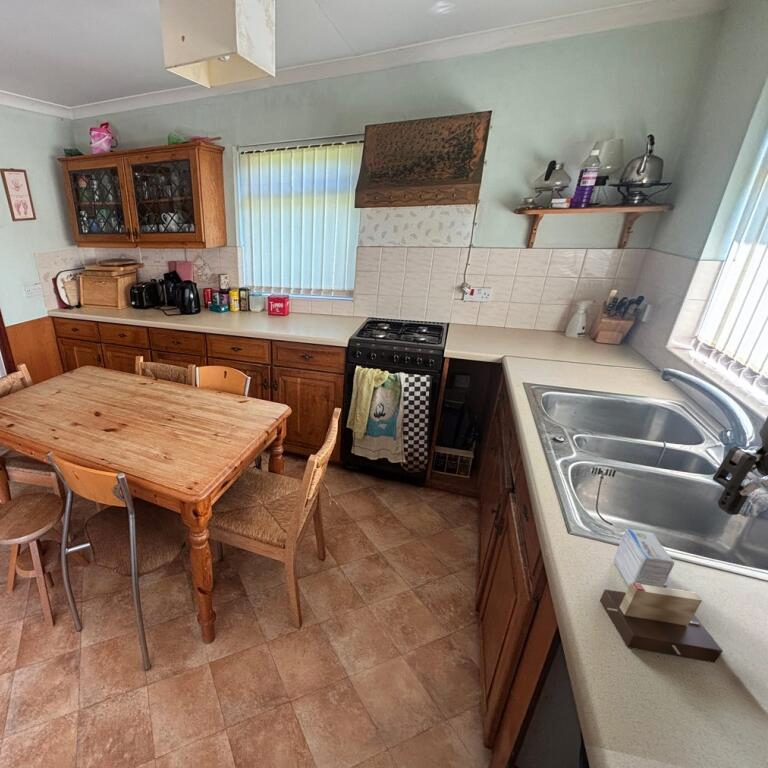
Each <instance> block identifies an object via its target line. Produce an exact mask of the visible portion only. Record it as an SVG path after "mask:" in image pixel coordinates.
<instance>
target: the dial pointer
mask: <svg viewBox="0 0 768 768" xmlns="http://www.w3.org/2000/svg"><path fill="white" fill-rule="evenodd" d="M702 602H703V599H702V598H701V597H700V596H699V595H698V594H697V592H695V591H688V590H682V589H676V588H670V587H664V586H663V587H656V586H649V585H643V584H640V583H631V584H630V586H628V588H627V590H626V595H625V597H624V599H623V601H622V603H621V605H620V609H621V611H622V612H623V614H624V615H625V616H632V617H638V618H644V619H650V620H656V621H662V622H668V623H674V624H680V625H686V626H688V624H689V622H690V621H691V619H692V617H693V615H696V612H697V610H698V608H699V607H700V605H701V603H702Z"/></svg>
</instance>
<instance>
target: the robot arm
mask: <svg viewBox="0 0 768 768" xmlns="http://www.w3.org/2000/svg"><path fill="white" fill-rule="evenodd" d="M758 434H759V437H760V439H761V444H760V445H759V446H758V447H757V448H756V449H754V450H746V449H743V448H741V447H740V446H737V445H736V446H732V447H731V448H730V449H729V450H728V452H727V453H726V455H725V457H724V459H723V460H722V461H721V464H719V467H718V468H717V470H716V472H715V474H714V475H713V477H712V480H713V481H714V482H715V483H717V484H718V485H720V486H722V487H723V488H724V490H723V491H722V494H721V495H720V497H719V498H718V501H717V505H718V508H719V509H720V510H722V511H724V512H725V513H726V514H728V515H730V516H737V515H739V513H740V512H741V510H742V508H743V507H744V504H745V503H746V501H747V499H748V497H749V495H750V494H751V493H753V492H755V491H757V490H758V489H760V488H764V489H765V488H768V415H767V417H766V418H765V420H764V422H763V424H762V425H761V428H760V429H759V431H758ZM755 470H756V471H757V472H758V474H759V475H761V476H762V477H761V476H758V475H756V474H755V473H753V471H755ZM729 474H731V476H730V477H728V476H729ZM744 480H750V481H749V482H747V483H745V484H742V483H743V482H744Z"/></svg>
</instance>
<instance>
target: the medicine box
mask: <svg viewBox="0 0 768 768" xmlns="http://www.w3.org/2000/svg"><path fill="white" fill-rule="evenodd" d="M612 560H613V562H614V564H615V566H616V567H617V569H618V571H619V573H620V574H621V576H622V577H623V579H624V581H625V583H626V585H627V586H628V587H629V586H630V585H629V584H631V583H640V584H643V585H649V586H656V587H663V588H664V586H665V584H666V582H667V580H668V578H669V576H670V574H671V572H672V570H673V568H674V565H675V561H674V560H673V559H672V558H671V556H670V555H669V553H668V552H667V551H666V549H665V548H664V547H663V545H662V544H661V543H660V541H659V539H658V538H657V537H656V536H655V534H654V533H652V532H648V531H644V530H639V529H638V530H637V529H632V528H631V529H629V528H626V529H625V531H624V533H623V535H622V538H621V541H620V543H619V545H618V548H617V550H616V552H615V554H614V557H613V559H612Z"/></svg>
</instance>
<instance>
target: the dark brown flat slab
mask: <svg viewBox="0 0 768 768" xmlns="http://www.w3.org/2000/svg"><path fill="white" fill-rule="evenodd" d="M629 585H630V584H629ZM626 593H627V591H626V592H624V591H618V590H613V589H604V590H603V591H602V595H601V597H600V599H599V602H600V604H601V606H602V607H603V609H604V610H605V612H606V614H607V616H608V618H609V619H610V621H611V622H612V624H613V626H614V628H615V629H616V631H617V633H618V634H619V635H620V637H621V639H622V641H623V642H624V644H625V646H626V647H627V648H628V649H635V650H640V651H646V652H652V653H657V654H662V655H667V656H673V657H680V658H685V659H690V660H696V661H702V662H707V663H713V664H716V662H717V661H718V659H719V658H720V656H721V655H722V653H723V652H724V651H723V649H722V647H720V645H719V644H718V642H717V641H716V640H715V639H714V637H712V635H711V634H710V633H709V631H708V630H707V629H706V628H705V627H704V625H703V624H702V623H701V621H700V620H699V618H697V617H696V616H695V615H696V614H694V615H693V617H692V619H691V621H690V622H689V624H688V626H686V625H680V624H674V623H668V622H662V621H656V620H650V619H644V618H638V617H632V616H625V615H624V614H623V612H622V611H621V609H620V605H621V603H622V601H623V599H624V597H625V595H626Z"/></svg>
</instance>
